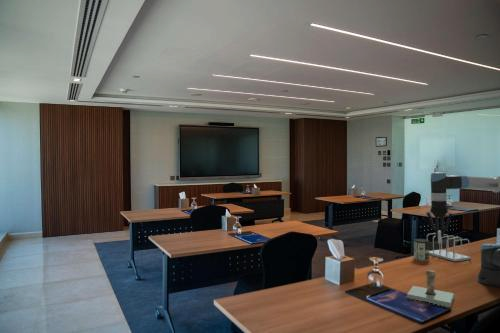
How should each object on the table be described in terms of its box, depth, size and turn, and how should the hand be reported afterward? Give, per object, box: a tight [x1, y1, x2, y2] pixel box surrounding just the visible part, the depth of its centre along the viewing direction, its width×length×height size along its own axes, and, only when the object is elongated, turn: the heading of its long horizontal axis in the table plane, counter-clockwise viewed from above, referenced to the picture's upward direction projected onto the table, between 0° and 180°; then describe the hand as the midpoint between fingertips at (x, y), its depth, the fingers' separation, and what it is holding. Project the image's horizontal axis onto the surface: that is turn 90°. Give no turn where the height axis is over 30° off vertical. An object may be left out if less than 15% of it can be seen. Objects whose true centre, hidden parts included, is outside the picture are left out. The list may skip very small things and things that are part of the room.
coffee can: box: [413, 238, 430, 262], centre depth 261 cm, size 10×10×14 cm
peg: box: [425, 269, 437, 296], centre depth 188 cm, size 5×5×14 cm
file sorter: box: [426, 232, 472, 263], centre depth 268 cm, size 25×17×16 cm
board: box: [406, 285, 455, 308], centre depth 188 cm, size 20×15×2 cm
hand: (439, 242), depth 197 cm, fingers closed
